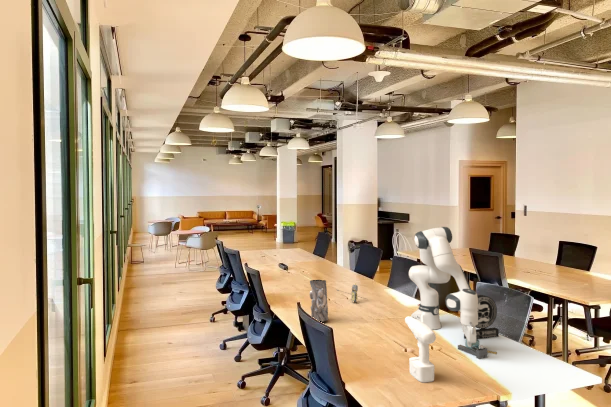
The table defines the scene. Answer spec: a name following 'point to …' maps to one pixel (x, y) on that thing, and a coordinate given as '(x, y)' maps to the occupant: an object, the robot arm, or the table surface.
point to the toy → (354, 293)
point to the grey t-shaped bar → (475, 351)
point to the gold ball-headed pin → (491, 352)
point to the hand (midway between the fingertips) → (469, 346)
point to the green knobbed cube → (473, 344)
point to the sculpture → (319, 300)
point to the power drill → (421, 351)
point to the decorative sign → (486, 318)
